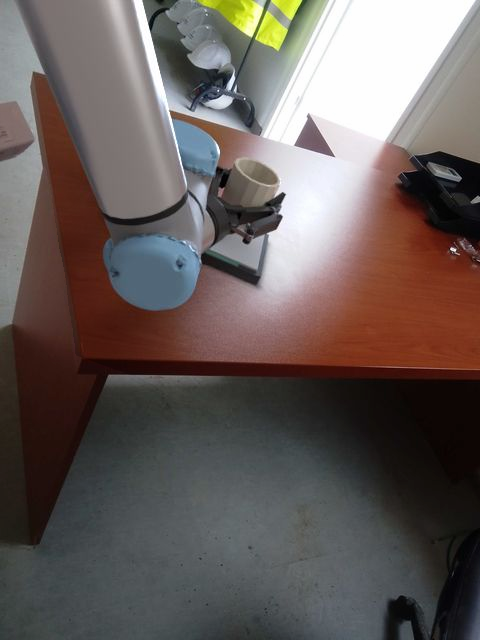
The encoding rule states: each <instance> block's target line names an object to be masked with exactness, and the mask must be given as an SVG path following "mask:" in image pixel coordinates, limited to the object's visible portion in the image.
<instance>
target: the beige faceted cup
mask: <svg viewBox="0 0 480 640" xmlns="http://www.w3.org/2000/svg"><path fill="white" fill-rule="evenodd" d="M281 181H282V180H281V177H280V176H279V173H277V172H276V171H275V170H274V169H273V168H272V167H270V166H269V165H267V164H266V163H264V162H262V161H259V160H258V159H256V158H255V159H254V158H252V157H245V156H239V157H237V158H236V159H235V160H234V163H233V165H232V170H231V173H230V175H229V178H228V181H227V183H226V186H225V187H224V188H223V191H222V193H221V195H220V197H221V198H222V199H223V200H224V201H226V202H227V203H229V204H231V205H242V206H243V207H263V206H266V205H267V203H268V202H269V201H270V200H272V199H273V198H274V197H276V194H277V192H278V190H279V188H280V186H281ZM245 225H247V224H245ZM245 225H240V226H245ZM235 234H237V233H235Z"/></svg>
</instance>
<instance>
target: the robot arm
mask: <svg viewBox="0 0 480 640" xmlns="http://www.w3.org/2000/svg"><path fill="white" fill-rule="evenodd" d="M13 1H14V3H15V6H16V8H17V10H18V12H19V15H20V17H21V20H22V22H23V25H24V27H25V29H26V33H27V35H28V38H29V40H30V42H31V44H32V47H33V49H34V52H35V54H36V57H37V59H38V61H39V64H40V66H41V69H42V72H43V74H44V75H45V79H46V81H47V83H48V85H49V88H50V91H51V93H52V95H53V98H54V100H55V102H56V106H57V107H58V109H59V112H60V114H61V117H62V120H63V122H64V125H65V127H66V130H67V132H68V134H69V137H70V139H71V142H72V144H73V146H74V149H75V151H76V153H77V156H78V159H79V161H80V163H81V165H82V168H83V171H84V173H85V175H86V178H87V180H88V182H89V186H90V188H91V191H92V193H93V195H94V197H95V200H96V202H97V205H98V208H99V209H100V212H101V214H102V217H103V219H104V222H105V225H106V228H107V230H108V233H109V235H110V237H109V238H108V239H107V240H106V242H105V244H104V245H103V249H102V258H103V263H104V265H105V269H106V270H107V273H108V278H109V281H110V284H111V286H112V288H113V289H114V291H115V292H116V294H118V296H119V297H121V298H122V299H123V300H124V301H125V302H127V303H129V304H130V305H132V306H135V307H137V308H139V309H142V310H147V311H154V312H155V311H157V312H158V311H165V310H173V309H175V308H178V307H179V306H181V305H183V304H184V303H186V302H187V301H188V300H189V299H190V298H191V297H192V295H193V293H194V291H195V289H196V286H197V282H198V278H199V275H200V272H201V268H202V262H201V254H202V253H204V252H205V251H206V250H208V249H209V248H211V247H212V246H214V245H215V244H217V243H218V242H219V241H221V240H222V239H223V238H224V237H225V236H226V235H229V234H234V233H237V234H238V235H240V236H242V237H243V240H242V242H243V243H244V244H247V245H248V244H250V242H251V241H252V239H254V238H257V237H259V236H262V235H264V234H269V233H272V232H274V231H276V230H278V228H279V225H281V222H282V220H283V218H284V216H283V215H282V214H281V213H280V212H281V209H282V208H283V206H282V203H283V201H284V200H285V198H286V196H287V193H286V192H284V191H281V192H280V193H279V194H277V195H275V196H274V198H273V199H272V200H270V201H269V202H268V203H267V205H266V206H263V207H243V206H242V205H231V204H229V203H227V202H226V201H224V200H223V199H222V198H221V196H219V191H220V189H221V190H223V189H224V188H225V186H226V183H227V181H228V178H229V175H230V173H231V170H232V168H233V167H232V168H230V169H228V168H223V167H222V166H220V165H218V163H219V159H220V156H221V153H220V151H221V150H220V147H219V145H218V144H217V142H216V140H214V138H213V137H212V136H211V135H210V134H209V133H208V132H206V131H205V130H204V129H201V128H200V127H198V126H196V125H194V124H192V123H189V122H186V121H184V120H179V119H174V118H172V117H171V113H170V109H169V105H168V100H167V96H166V92H165V89H164V86H163V85H164V84H163V80H162V77H161V73H160V68H159V65H158V64H159V63H158V59H157V55H156V51H155V48H154V43H153V39H152V35H151V31H150V26H149V23H148V19H147V14H146V11H145V7H144V3H143V0H13ZM245 224H247V225H245ZM240 225H245V226H240Z"/></svg>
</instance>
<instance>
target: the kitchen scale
mask: <svg viewBox="0 0 480 640" xmlns="http://www.w3.org/2000/svg"><path fill="white" fill-rule="evenodd" d="M269 237H270V234H269V233H267V234H264V235H262V236H259V237H257V238H254V239H252V241H251V242H250V244H248V245H247V244H244V243H243V242H242V240H243V237H242V236H240V235H238V234H235V233H234V234H229V235H226V236H225V237H224V238H223V239H222V240H221V241H219V242H218V243H217V244H215V245H214V246H212V247H211V248H209V249H208V250H206V251H205V252H204V253H202V254H201V263H203V264H206V265H208V266H209V267H212V268H214V269H217V270H219V271H221V272H224V273H226V274H228V275H231V276H233V277H236V278H237V279H240V280H243V281H245V282H247V283H249V284H251V285H254V286H257V285H258V283H259V282H260V280H261V278H262V274H263V268H264V263H265V257H266V252H267V247H268V243H269Z"/></svg>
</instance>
